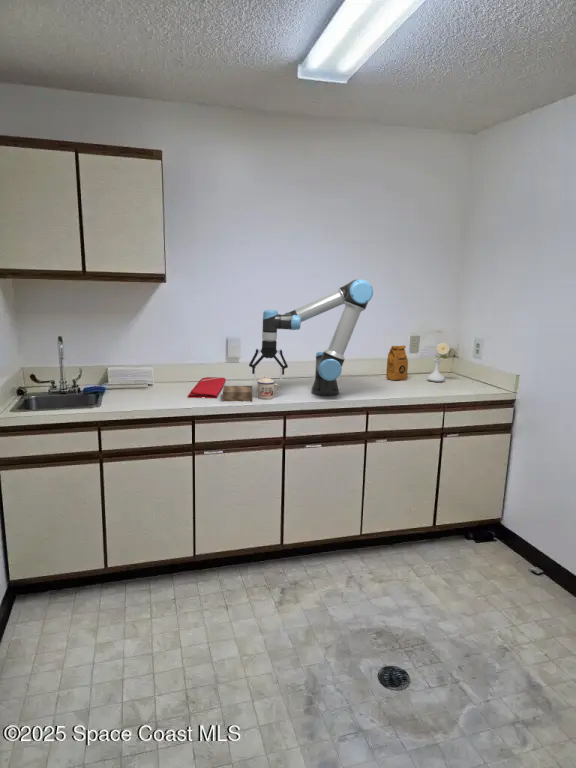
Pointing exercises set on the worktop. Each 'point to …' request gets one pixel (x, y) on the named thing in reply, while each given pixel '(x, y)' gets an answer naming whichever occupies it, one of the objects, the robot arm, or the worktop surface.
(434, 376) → the flower in vase
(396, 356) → the coffee package
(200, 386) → the dish drying mat
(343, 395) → the worktop surface
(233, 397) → the walnut riser
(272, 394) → the teacup with lid
